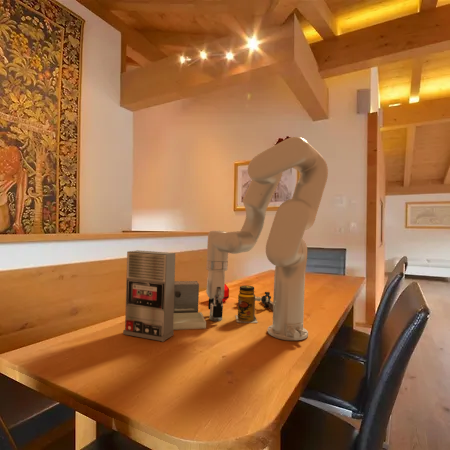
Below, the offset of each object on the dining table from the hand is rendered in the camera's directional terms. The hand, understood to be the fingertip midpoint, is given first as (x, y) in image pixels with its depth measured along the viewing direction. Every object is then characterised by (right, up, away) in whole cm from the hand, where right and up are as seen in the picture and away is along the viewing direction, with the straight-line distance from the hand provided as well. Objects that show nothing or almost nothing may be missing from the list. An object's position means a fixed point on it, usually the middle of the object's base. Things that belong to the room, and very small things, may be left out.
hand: (214, 313), depth 111 cm
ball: (+1, -2, +25) cm, 26 cm away
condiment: (+11, -3, +1) cm, 12 cm away
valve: (+16, -3, +19) cm, 25 cm away
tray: (-9, -2, -6) cm, 11 cm away
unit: (-12, -2, +3) cm, 12 cm away
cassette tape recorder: (-19, -2, -18) cm, 26 cm away
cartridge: (0, -2, 0) cm, 2 cm away
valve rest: (+17, -3, +19) cm, 25 cm away
